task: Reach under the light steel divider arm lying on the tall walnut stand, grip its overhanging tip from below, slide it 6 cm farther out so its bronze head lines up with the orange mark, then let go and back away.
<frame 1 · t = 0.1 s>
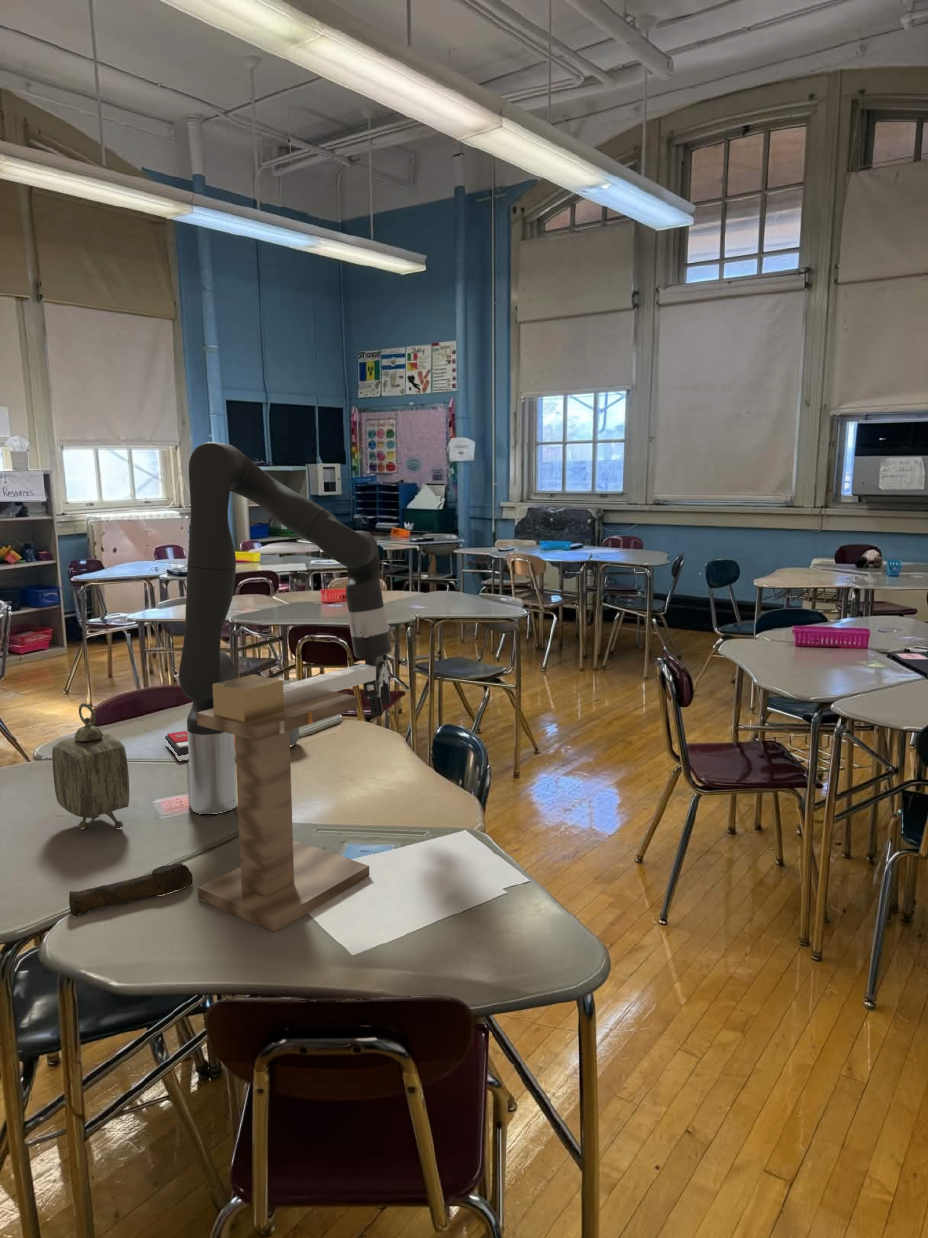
hand: (381, 709, 168), 22 cm above the table, tool pointing down, fingers open, 8 cm apart
divider arm: (256, 711, 131), point 32 cm above the table, touching stand
tabletop clock: (93, 827, 165), on the table
hand tool: (132, 901, 137), on the table
red black flat block: (194, 751, 212), on the table
smart speaker: (281, 746, 215), on the table
stand: (286, 887, 141), on the table
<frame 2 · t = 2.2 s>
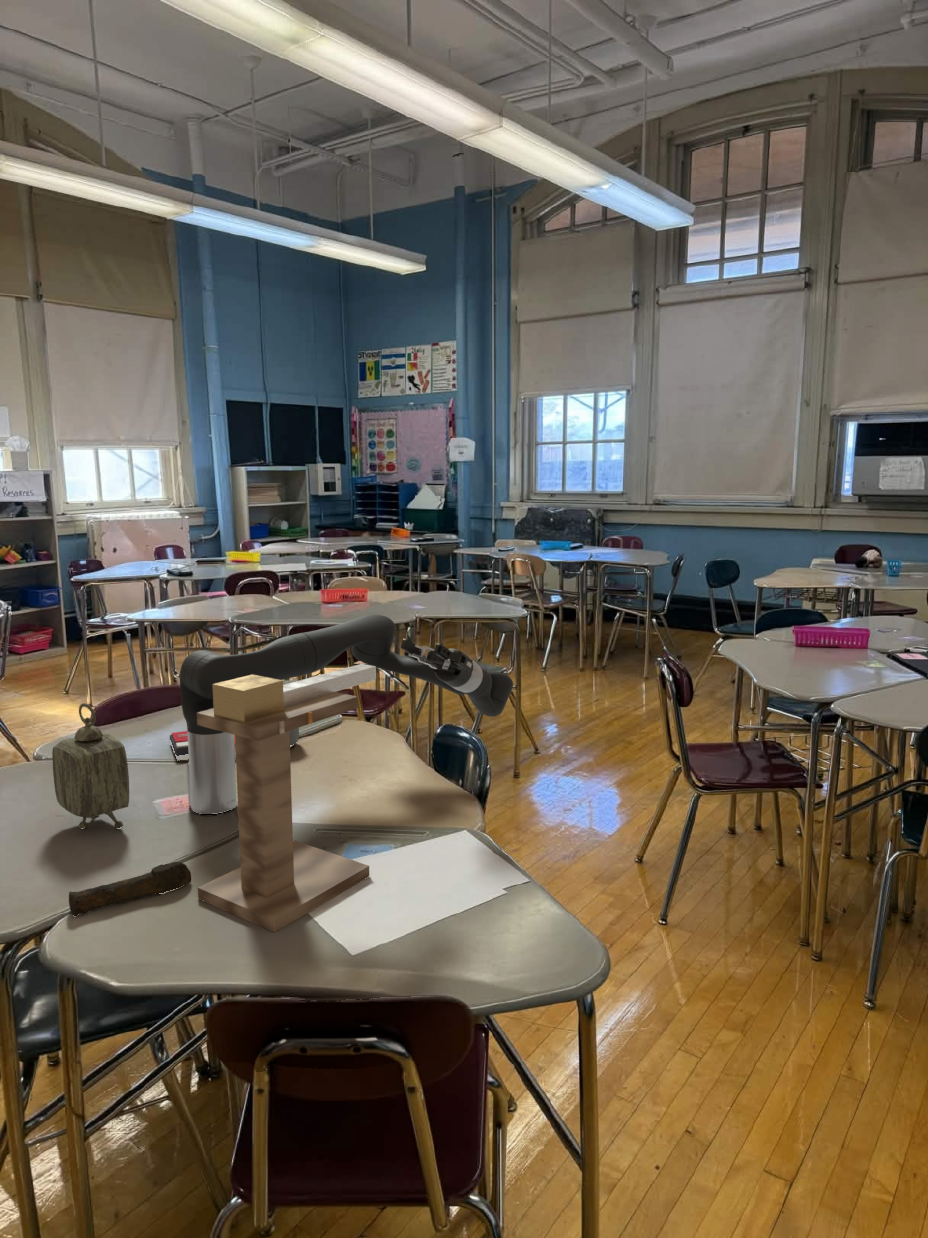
hand: (419, 645, 169), 35 cm above the table, tool pointing upward, fingers open, 8 cm apart
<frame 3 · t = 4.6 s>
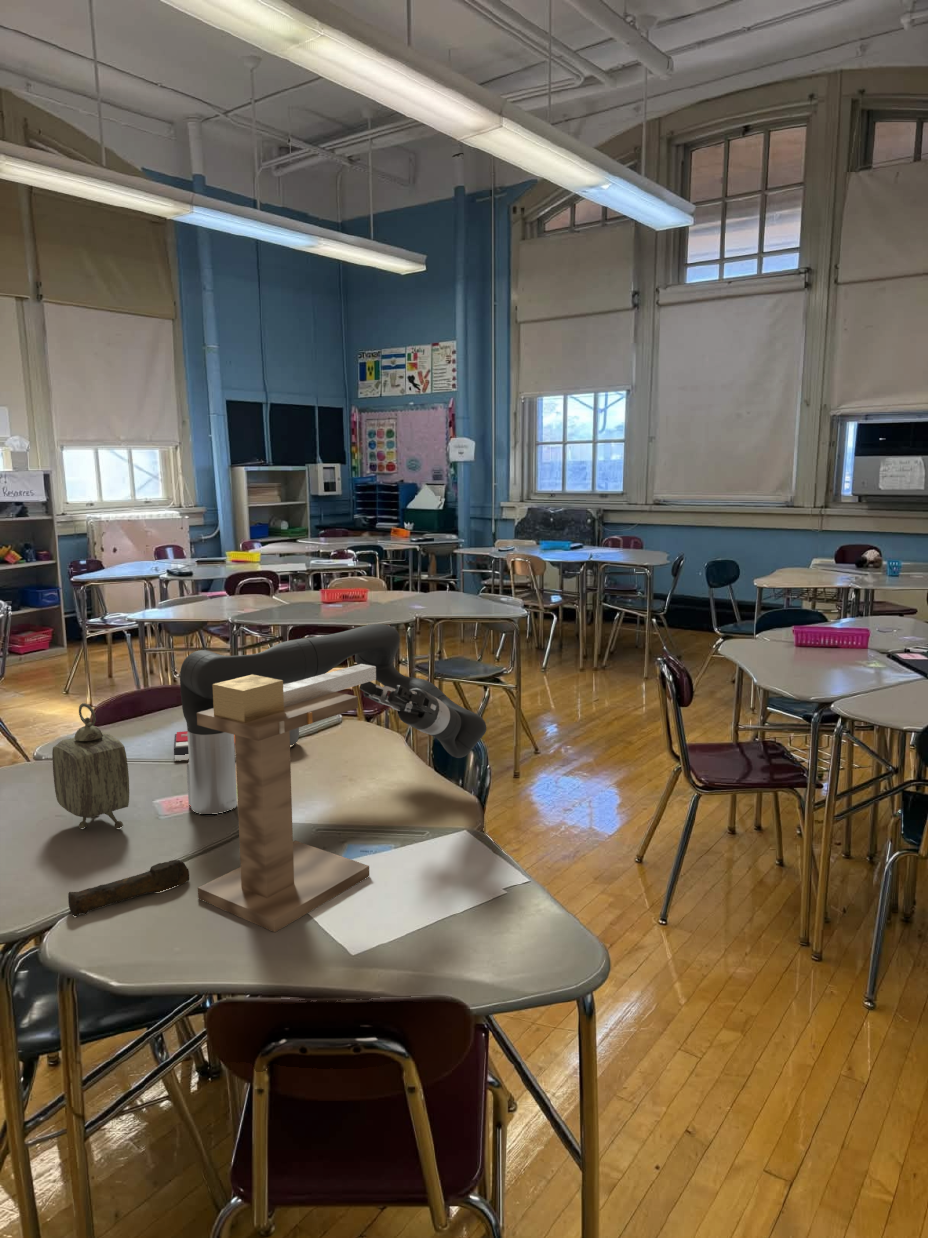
hand: (379, 687, 156), 30 cm above the table, tool pointing upward, fingers open, 8 cm apart
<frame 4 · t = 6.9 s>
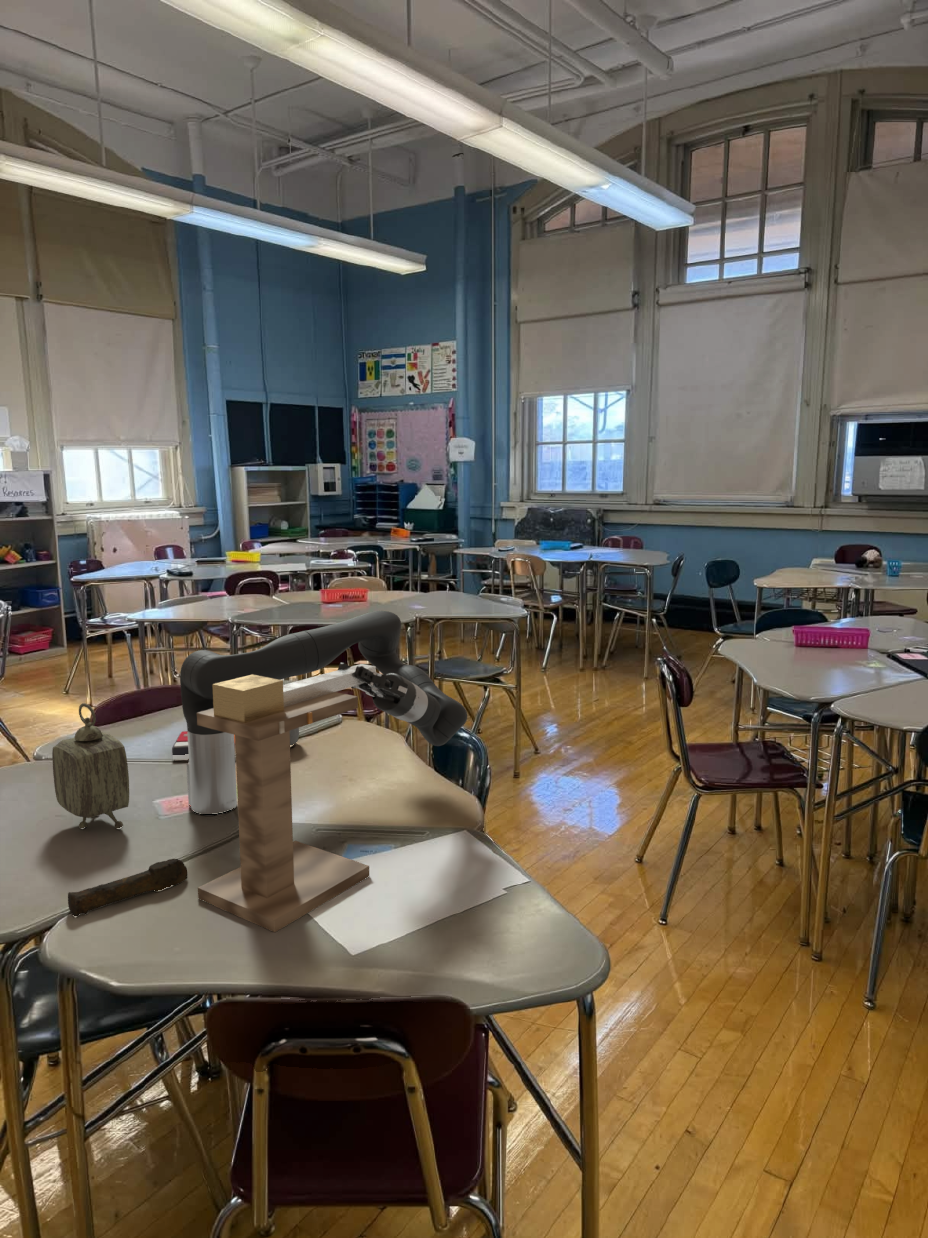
hand: (348, 669, 149), 35 cm above the table, tool pointing upward, fingers closed on divider arm, 3 cm apart
divider arm: (256, 711, 131), point 32 cm above the table, touching gripper, stand
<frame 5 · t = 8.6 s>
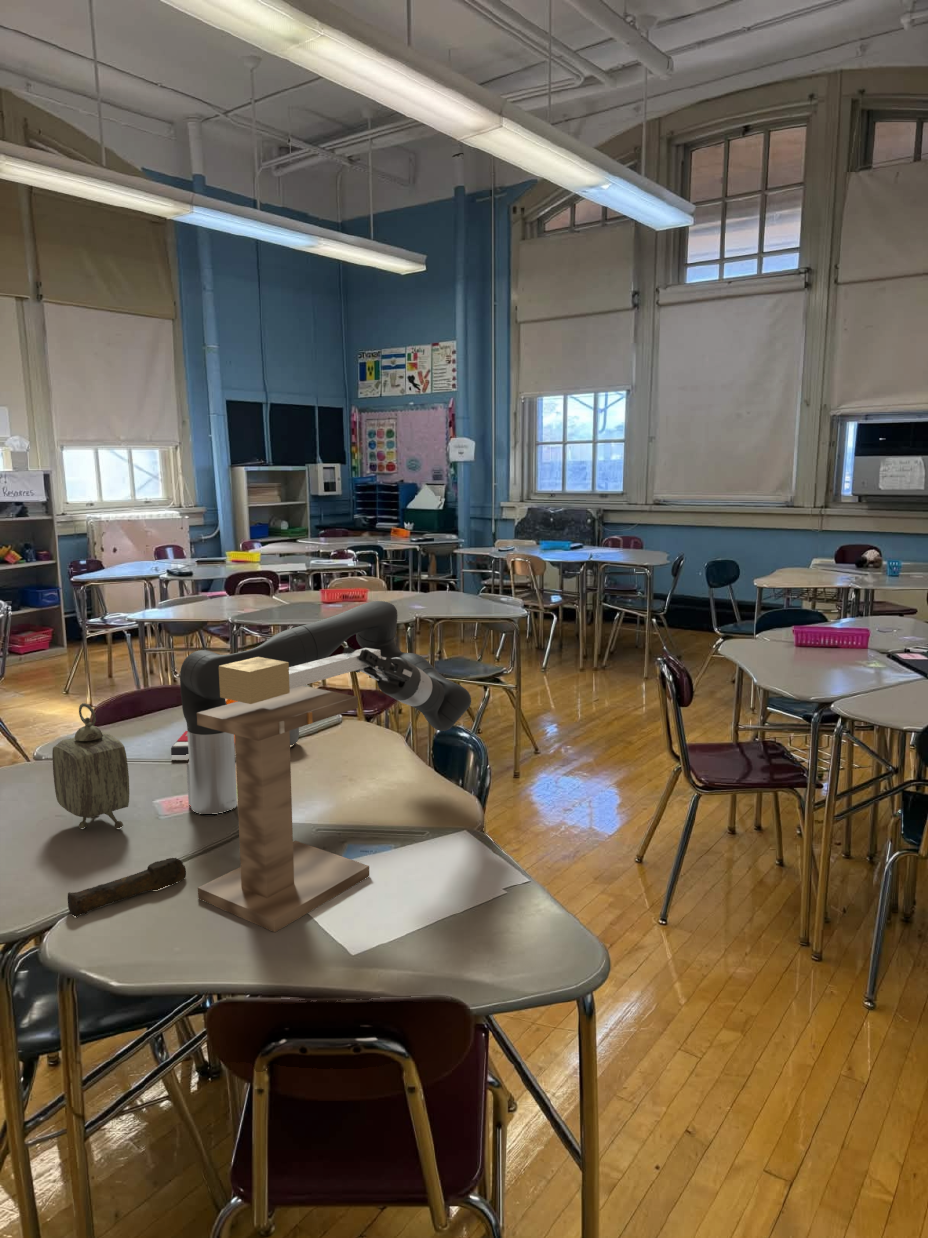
hand: (353, 652, 149), 38 cm above the table, tool pointing upward, fingers closed on divider arm, 3 cm apart
divider arm: (262, 693, 132), point 35 cm above the table, touching gripper
when the fingers open (35 cm above the table, at t = 10.5 s): divider arm stays where it is, resting on stand.
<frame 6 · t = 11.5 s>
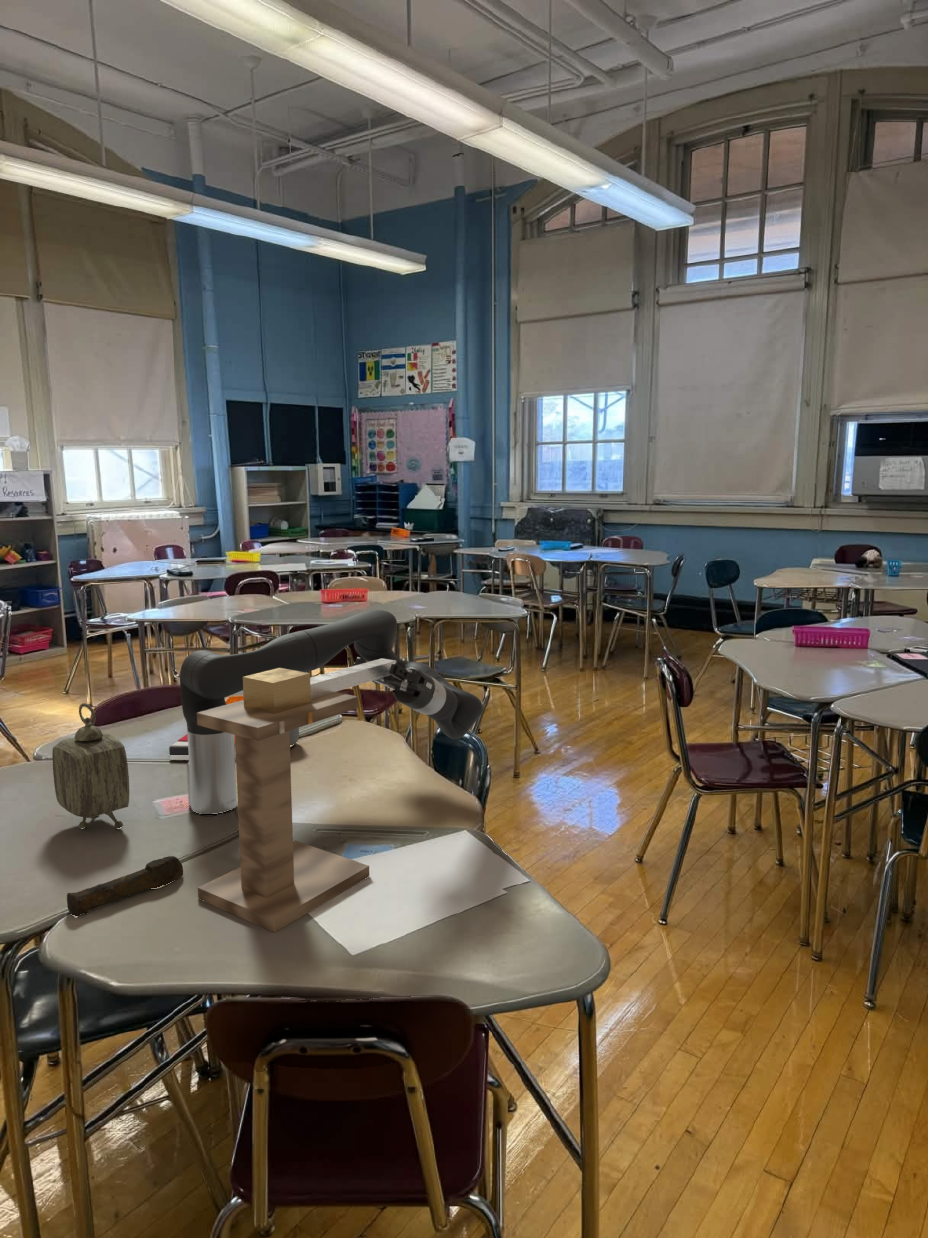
hand: (374, 665, 154), 34 cm above the table, tool pointing upward, fingers open, 8 cm apart
divider arm: (284, 703, 136), point 32 cm above the table, touching stand
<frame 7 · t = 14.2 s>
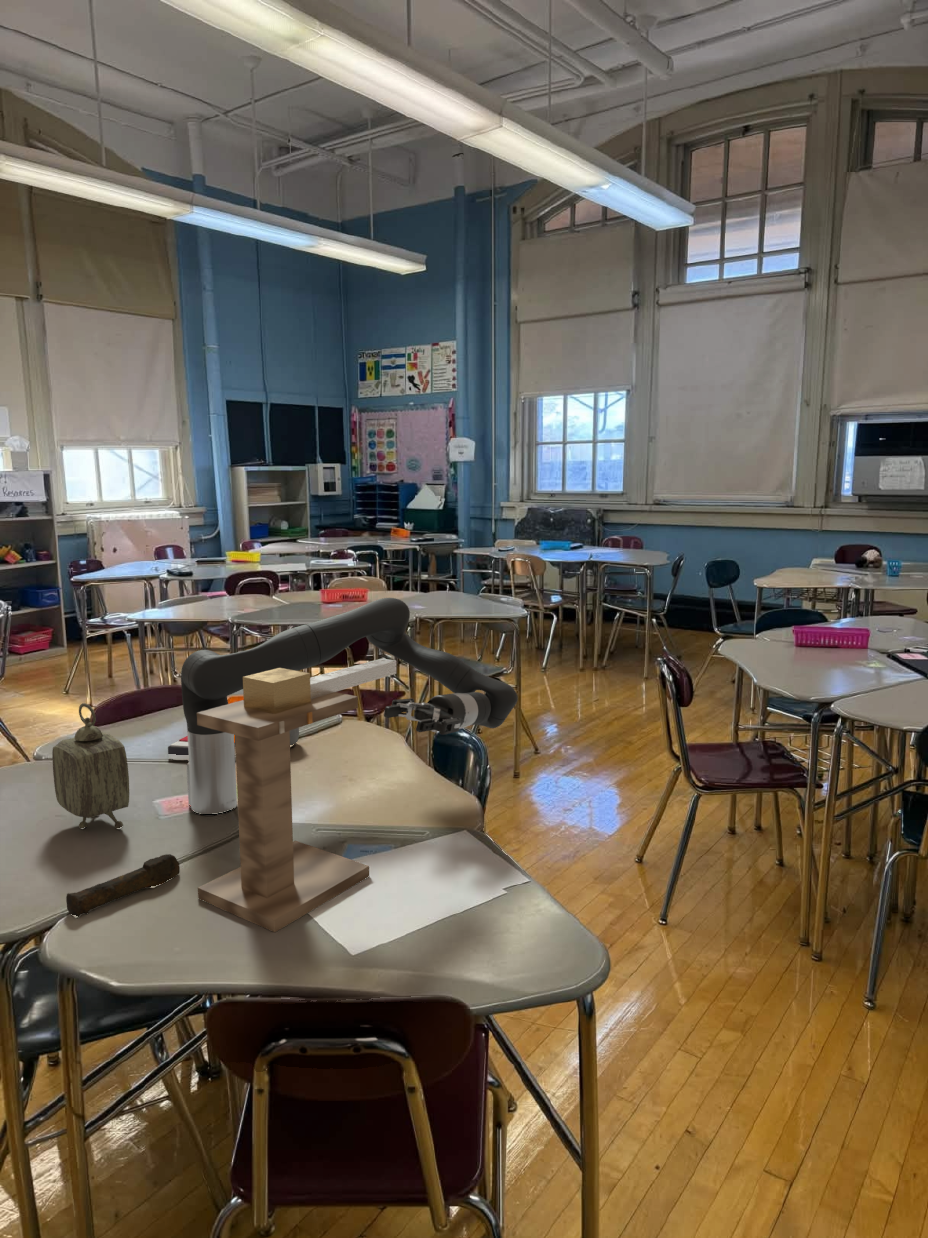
hand: (401, 719, 161), 22 cm above the table, tool horizontal, fingers open, 8 cm apart
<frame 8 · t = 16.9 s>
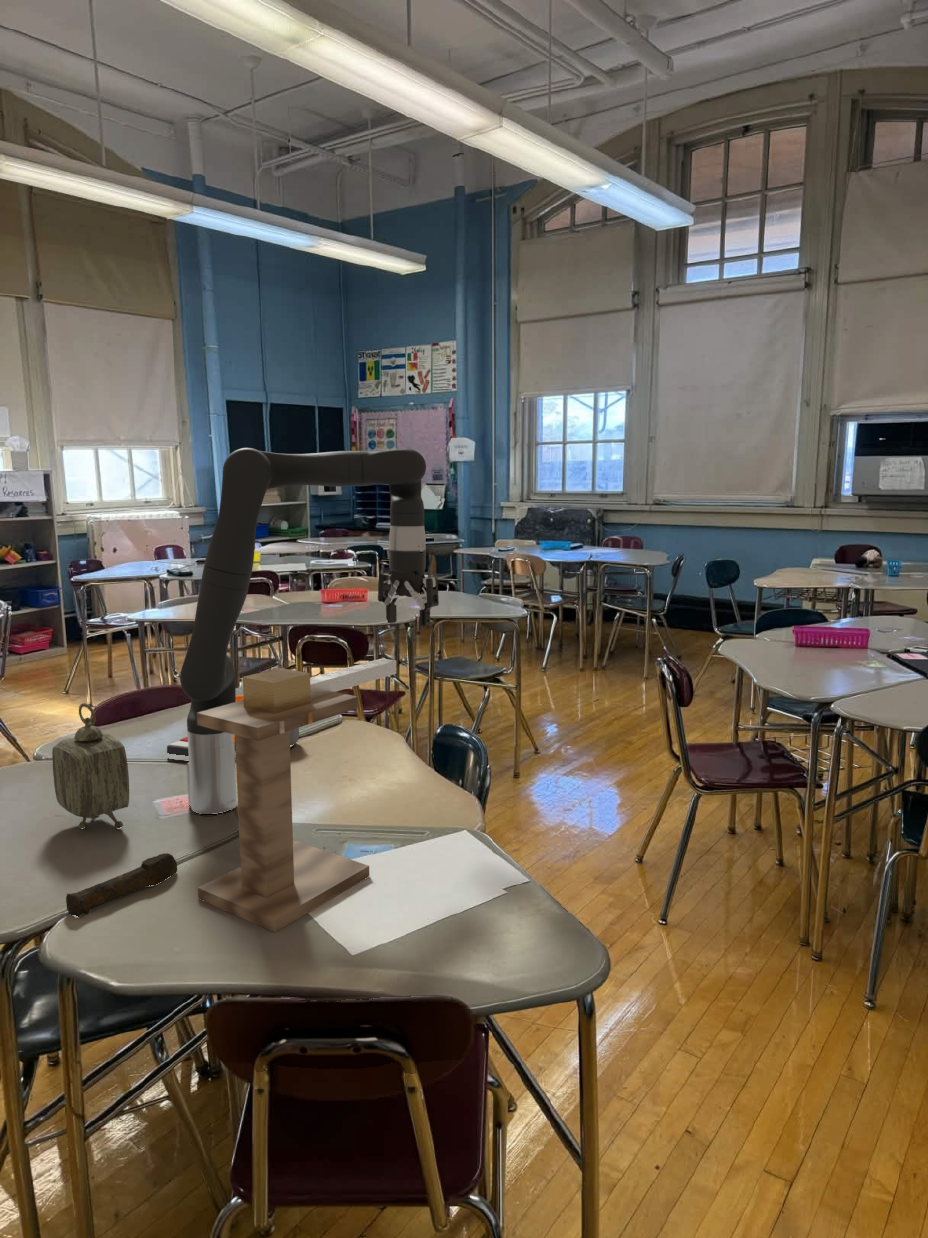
hand: (407, 624, 175), 38 cm above the table, tool pointing down, fingers open, 8 cm apart
at the end: divider arm 0.4 cm from the target spot, point 32.0 cm above the table; divider arm tilted 0°; the gripper is holding nothing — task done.
